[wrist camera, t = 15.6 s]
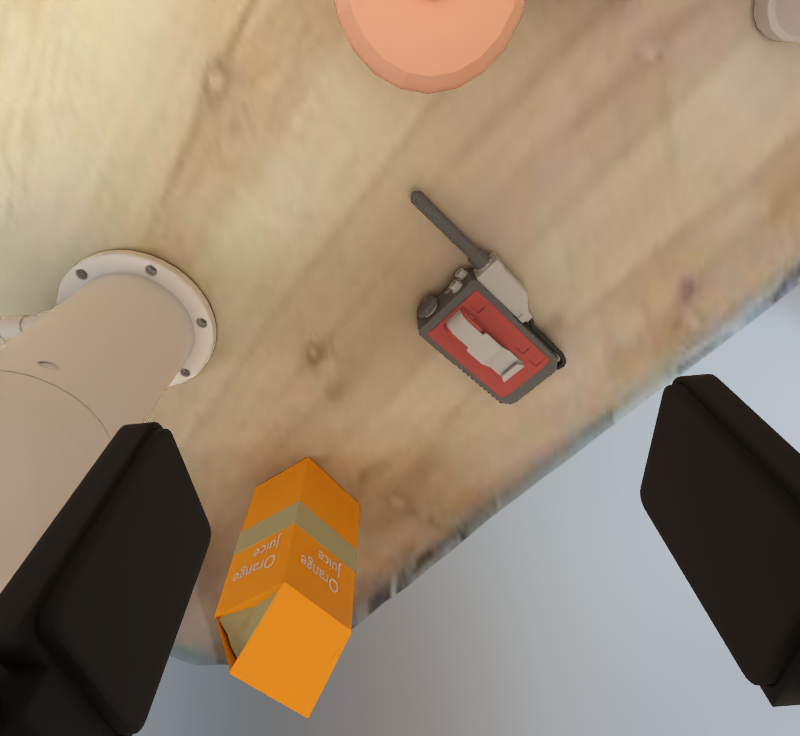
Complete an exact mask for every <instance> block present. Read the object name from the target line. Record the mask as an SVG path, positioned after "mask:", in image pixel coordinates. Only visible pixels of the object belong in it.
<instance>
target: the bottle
mask: <svg viewBox="0 0 800 736" xmlns="http://www.w3.org/2000/svg"><path fill="white" fill-rule="evenodd" d="M753 15H754V18H755V22H756V25H757V28H758V29H759V30H760V31H761V32H762V33H763V34H764V35H765V36H766V37H767V38H769V39H772V40H777V41H782V42H787V43H797V42H800V0H755V3H754V12H753Z"/></svg>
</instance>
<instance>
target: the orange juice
mask: <svg viewBox="0 0 800 736" xmlns="http://www.w3.org/2000/svg"><path fill="white" fill-rule="evenodd" d="M359 509H360V504H359V503H357V502H356V501H355V500H354V499H353V498H352V497H351V496H350V495H349V494H348V493H347V492H346V491H345V490H343V489H342V488H341V487H340V486H339V485H338V484H337V483H336V482H335V481H334V480H333V479H332V478H331V477H329V476H328V475H327V474H326V473H325V472H324V471H323V470H322V469H321V468H320V467H319V466H318V465H316V464H315V463H314V462H313V461H312V460H311V459H310V458H309V457H307V458H306V459H304V460H302V461H300V462H299V463H297V464H295V465H294V466H292V467H290V468H288V469H287V470H285V471H283V472H281V473H280V474H278V475H276V476H275V477H273V478H271V479H269V480H268V481H266V482H264V483H263V484H261V485H259V486H257V487H256V488H255V490H254V493H253V496H252V499H251V503H250V506H249V509H248V512H247V515H246V518H245V522H244V525H243V528H242V531H241V533H240V535H239V539H238V542H237V545H236V548H235V551H234V554H233V559H232V563H231V566H230V569H229V572H228V575H227V578H226V582H225V585H224V588H223V591H222V594H221V597H220V601H219V604H218V607H217V610H216V613H215V616H214V617H215V618H216V619H217V623H218V627H219V630H220V634H221V638H222V642H223V645H224V649H225V653H226V656H227V660H228V664H229V668H230V672H229V674H231V675H233V676H235V677H236V678H238V679H240V680H242V681H244V682H245V683H247V684H249V685H250V686H252V687H254V688H256V689H257V690H259V691H261V692H263V693H264V694H266V695H268V696H270V697H271V698H273V699H275V700H277V701H278V702H280V703H282V704H284V705H285V706H287V707H289V708H291V709H292V710H294V711H296V712H297V713H299V714H301V715H303V716H305V717H306V718H309V716H310V714H311V712H312V710H313V708H314V706H315V704H316V702H317V700H318V698H319V696H320V694H321V692H322V690H323V688H324V686H325V684H326V682H327V680H328V678H329V676H330V674H331V672H332V670H333V668H334V666H335V664H336V662H337V660H338V658H339V656H340V654H341V652H342V650H343V648H344V646H345V644H346V642H347V640H348V639H349V636H350V635H351V633H352V631H351V624H352V610H353V595H354V581H355V573H356V560H357V538H358V523H359Z"/></svg>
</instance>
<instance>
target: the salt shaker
mask: <svg viewBox="0 0 800 736" xmlns="http://www.w3.org/2000/svg"><path fill="white" fill-rule="evenodd" d="M524 4H525V0H335V5H336V10H337V15H338V19H339V21H340V23H341V25H342V28H343V30H344V32H345V34H346V36H347V38H348V40H349V42H350V44H351V46H352V48H353V50H354V51H355V53H356V54H357V55H358V56H359V57H360V58H361V59H362V60H363V61H364V63H365V64H366V65H367V66H368V67H369V68H370V69H371V70H372V72H373V73H374V74H375V75H377V76H379V77H381V78H382V79H384V80H386V81H388V82H389V83H391V84H393V85H395V86H396V87H398V88H400V89H404V90H410V91H416V92H422V93H428V94H429V93H435V92H440V91H445V90H450V89H456V88H458V87H460V86H461V85H463V84H465V83H467V82H468V81H470V80H472V79H473V78H475V77H477V76H479V75H480V74H482V73H483V72H484V71H485V70H486V69H487V68H488V67H489V66H490V65H491V64H492V62H493V61H494V60H495V59H496V58H497V57H498V56H499V55H500V54H501V53H502V52H503V51H504V49H505V48H506V46H507V44H508V42H509V40H510V38H511V36H512V34H513V32H514V30H515V28H516V27H517V25H518V23H519V21H520V19H521V17H522V12H523V8H524Z"/></svg>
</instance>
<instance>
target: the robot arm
mask: <svg viewBox="0 0 800 736" xmlns="http://www.w3.org/2000/svg"><path fill="white" fill-rule="evenodd" d="M153 266H154V267H155V268H156V269H155V268H154V267H153ZM204 319H205V320H204ZM0 336H1V337H2V338H3V339H5V340H10V341H9V342H7V343H6V344H4V345H3V346H2V347H0V736H132V734H135V733H137V732H139V731H140V730H141V728H142V727H143V725H144V723H145V721H146V719H147V716H148V713H149V711H150V707H151V705H152V702H153V699H154V696H155V694H156V691H157V688H158V686H159V683H160V680H161V677H162V674H163V672H164V669H165V666H166V663H167V660H168V658H169V655H170V652H171V649H172V647H173V644H174V641H175V638H176V635H177V633H178V630H179V627H180V624H181V622H182V619H183V616H184V613H185V610H186V608H187V605H188V602H189V599H190V597H191V594H192V591H193V588H194V585H195V583H196V580H197V577H198V574H199V571H200V569H201V566H202V563H203V560H204V558H205V555H206V552H207V549H208V546H209V543H210V538H211V530H210V525H209V522H208V520H207V517H206V515H205V512H204V510H203V508H202V505H201V503H200V500H199V498H198V495H197V493H196V491H195V488H194V486H193V483H192V481H191V478H190V476H189V474H188V471H187V469H186V466H185V464H184V461H183V459H182V457H181V454H180V452H179V449H178V447H177V444H176V442H175V440H174V437H173V435H172V433H171V431H170V430H168V429H163V428H162V426H161V425H160V424H159V423H156V422H150V423H144V422H145V420H146V419H147V417H148V416H149V414H150V413H151V411H152V410H153V408H154V407H155V405H156V404H157V402H158V401H159V400H160V398H161V397H162V395H163V394H164V392H165V391H166V389H167V388H168V387H170V386H175V385H178V384H181V383H184V382H186V381H188V380H189V379H191V378H193V377H195V376H196V375H197V374H198V373H199V372H200V371H201V370H202V369H203V368H204V366H205V365H206V364H207V362H208V361H209V359H210V357H211V355H212V353H213V351H214V347H215V343H216V323H215V319H214V315H213V312H212V310H211V308H210V305H209V303H208V301H207V300H206V298H205V297H204V295H203V294H202V292H201V291H200V289H199V288H198V287H197V286H196V285H195V284H194V283H193V282H192V281H191V280H190V278H188V277H187V276H186V275H185V274H183V273H182V272H181V271H180V270H178V269H177V268H176V267H174V266H172V265H170V264H169V263H167V262H165V261H163V260H162V259H159V258H156V257H154V256H151V255H149V254H146V253H141V252H136V251H132V250H110V251H103V252H99V253H96V254H94V255H91V256H89V257H87V258H85V259H84V260H82V261H80V262H79V263H77V264H76V265H75V266H74V267H73V268H71V269H70V270H69V271H68V272H67V273H66V275H65V277H64V278H63V280H62V281H61V283H60V287H59V290H58V293H57V306H55V307H54V308H52V309H51V310H46V311H42V312H39V314H38V315H37V316H27V315H24V316H5V317H2V318H1V319H0ZM640 495H641V501H642V503H643V506H644V508H645V510H646V512H647V514H648V515H649V517H650V519H651V520H652V522H653V523H654V525H655V527H656V529H657V530H658V532H659V533H660V535H661V537H662V539H663V540H664V542H665V544H666V545H667V547H668V549H669V550H670V552H671V554H672V555H673V557H674V559H675V560H676V562H677V564H678V565H679V567H680V569H681V570H682V572H683V574H684V575H685V577H686V579H687V580H688V582H689V584H690V585H691V587H692V589H693V590H694V592H695V594H696V595H697V597H698V599H699V600H700V602H701V604H702V605H703V607H704V609H705V611H706V612H707V614H708V615H709V617H710V619H711V621H712V622H713V624H714V626H715V627H716V629H717V631H718V632H719V634H720V636H721V637H722V639H723V640H724V642H725V644H726V646H727V647H728V649H729V650H730V652H731V654H732V656H733V657H734V659H735V660H736V662H737V664H738V666H739V667H740V669H741V671H742V672H743V674H744V675H745V677H746V678H747V679H748V680H749V681H750V682H751V683H753V684H754V685H760V687H761V689H762V690H763V692H764V693H765V695H766V697H767V698H768V700H769V702H770V703H771V705H772V706H773V707H776V706H789V705H800V453H798V452H797V451H796V450H795V449H794V448H793V447H792V446H791V445H790V444H789V443H788V442H786V441H785V440H784V439H783V438H782V437H781V436H780V435H779V434H778V433H777V432H776V431H775V430H774V429H773V428H771V427H770V426H769V425H768V424H767V423H766V422H765V421H764V420H763V419H761V417H759V416H758V415H757V414H756V413H755V412H754V411H753V410H752V409H751V408H750V407H749V406H747V405H746V404H745V403H744V402H743V401H742V400H741V399H740V398H739V397H738V396H737V395H736V394H735V393H733V392H732V391H731V390H730V389H729V388H728V387H727V386H726V385H725V384H724V383H723V382H721V381H720V380H719V379H718V378H717V377H716V376H714V375H711V374H703V375H692V376H680V377H677V378H676V379H675V380H674V381H673V383H672V385H669V386H666V388H665V389H664V392H663V395H662V400H661V404H660V408H659V413H658V417H657V421H656V425H655V429H654V433H653V438H652V442H651V446H650V451H649V455H648V459H647V463H646V468H645V472H644V476H643V480H642V484H641V489H640Z"/></svg>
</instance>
